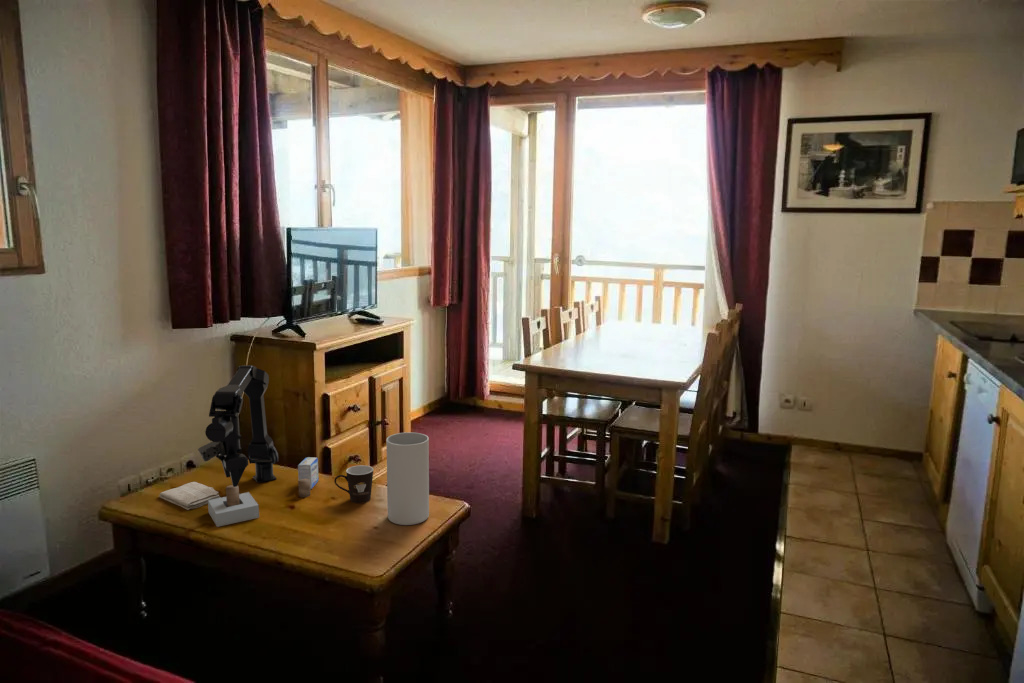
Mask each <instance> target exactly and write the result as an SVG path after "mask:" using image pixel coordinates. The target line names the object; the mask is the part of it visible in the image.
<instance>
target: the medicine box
mask: <svg viewBox="0 0 1024 683" xmlns="http://www.w3.org/2000/svg"><path fill="white" fill-rule="evenodd" d="M297 472H298V475H297V477H298V481H299V480H301V479H309V480H310V490H312V489H313V488H314V486H316V484H317V483H318V482H319V459H318V457H315V456H314V457H310V456H308V457H305V458H304V459H303V460H302V461H301V462H300V463H299V464H298V465H297Z"/></svg>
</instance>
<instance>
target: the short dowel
mask: <svg viewBox="0 0 1024 683" xmlns="http://www.w3.org/2000/svg"><path fill="white" fill-rule="evenodd" d="M298 497H299V498H308V497H311V489H310V480H309V479H301V480H299V479H298Z"/></svg>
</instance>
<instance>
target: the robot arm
mask: <svg viewBox="0 0 1024 683" xmlns="http://www.w3.org/2000/svg"><path fill="white" fill-rule="evenodd" d="M236 370H237V371H236V373H235V374H234V375H233V376H232V378H230V381H229V382H228V383H227V385H226V386H223V387H219V389H217V390H216V391H215V392H214V394H213V396H212V397H211V403H210V409H209V412H208V417H209V418H212V419H211V422H210V423H209V424H208V425H207V426H206V429H205V430H204V432H205V436H206V438H207V440H209V441H210V442H209V443H206V444H205V445H202V446H200V447H199V448H198V449H197V450H198V452H199V454H200V456H201V458H202V460H203V461H204V462H208V461H210V460H211V459H212V458H214V457H216V458H217V459H218V460H220V462H221V464H222V468H223V472H224V475H225V477H226V478H230V479H231V485H233V487H236V486H239V483H240V481H241V479H242V477H243V474H244V472H245V470H246V468H247V467H248V466H249V465H250V464H254V466H255V467H254V468H255V469H254V470H255V475H253V476H252V478H253V480H255V482H256V483H263V482H264V483H265V482H269V481H275V480H277V477H276V475H275V474H274V467H273V466H274V464H276V463H278V462H279V452H278V450H277V448H276V447H275V446H274V441H273V439H272V437H271V436H270V435H269V434H268V429H267V428H268V426H267V418H266V417H267V416H266V407H265V396H264V395H265V392H266V391H267V389H268V386H269V382H270V377H269V374H268V373H267V371H265V370H263V369H260V368H259V367H257V366H256V365H250V364H249V365H247V364H246V365H244V364H243V365H238V367H237V369H236ZM243 393H245V395H246V396H247V397H248V400H249V410H250V412H249V413H250V423H251V432H252V439H251V440H250V442H249V443H248V446H247V456H246V455H245V454H243V449H242V447H241V440H242V435H241V434H240V419H239V418H240V416H239V414H241V411H242V406H243V403H244V398H243Z"/></svg>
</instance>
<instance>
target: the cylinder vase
mask: <svg viewBox="0 0 1024 683" xmlns="http://www.w3.org/2000/svg"><path fill="white" fill-rule="evenodd" d="M429 440H430V439H429V436H428V435H426V434H424V433H420V432H399V433H394V434H391V435H388V437H387V438H386V486H387V487H386V490H387V491H386V492H387V493H386V494H387V496H386V498H387V500H386V502H387V509H386V510H387V519H388V520H389V522H391V523H393V524H396V525H398V526H411V525H412V526H413V525H417V524H421V523H423V522H425V521H426V520H427V519H428V518H429V516H430V470H429V469H430V462H429V460H430V457H429V456H430V455H429V454H430V453H429V450H430V447H429V446H430V445H429V444H430V443H429V442H430V441H429Z"/></svg>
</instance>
